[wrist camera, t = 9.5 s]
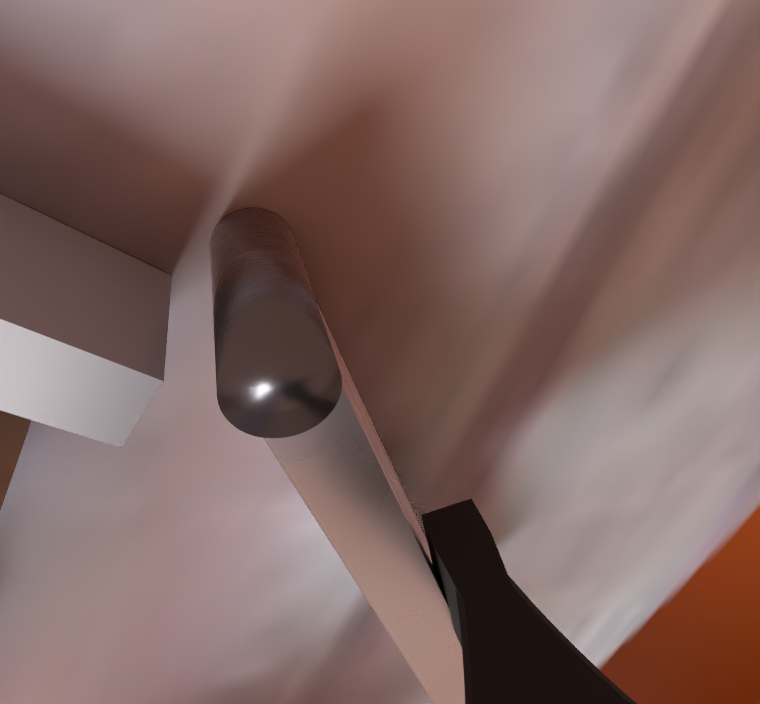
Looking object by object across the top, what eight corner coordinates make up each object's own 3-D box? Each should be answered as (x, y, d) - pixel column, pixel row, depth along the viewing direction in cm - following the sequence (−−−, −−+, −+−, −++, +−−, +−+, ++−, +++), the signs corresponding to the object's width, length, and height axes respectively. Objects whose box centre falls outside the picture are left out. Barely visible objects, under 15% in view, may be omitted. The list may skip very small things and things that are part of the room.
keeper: (194, 228, 9) (193, 369, 6) (275, 194, 9) (314, 318, 6) (402, 596, 16) (451, 752, 13) (448, 576, 17) (509, 727, 13)
